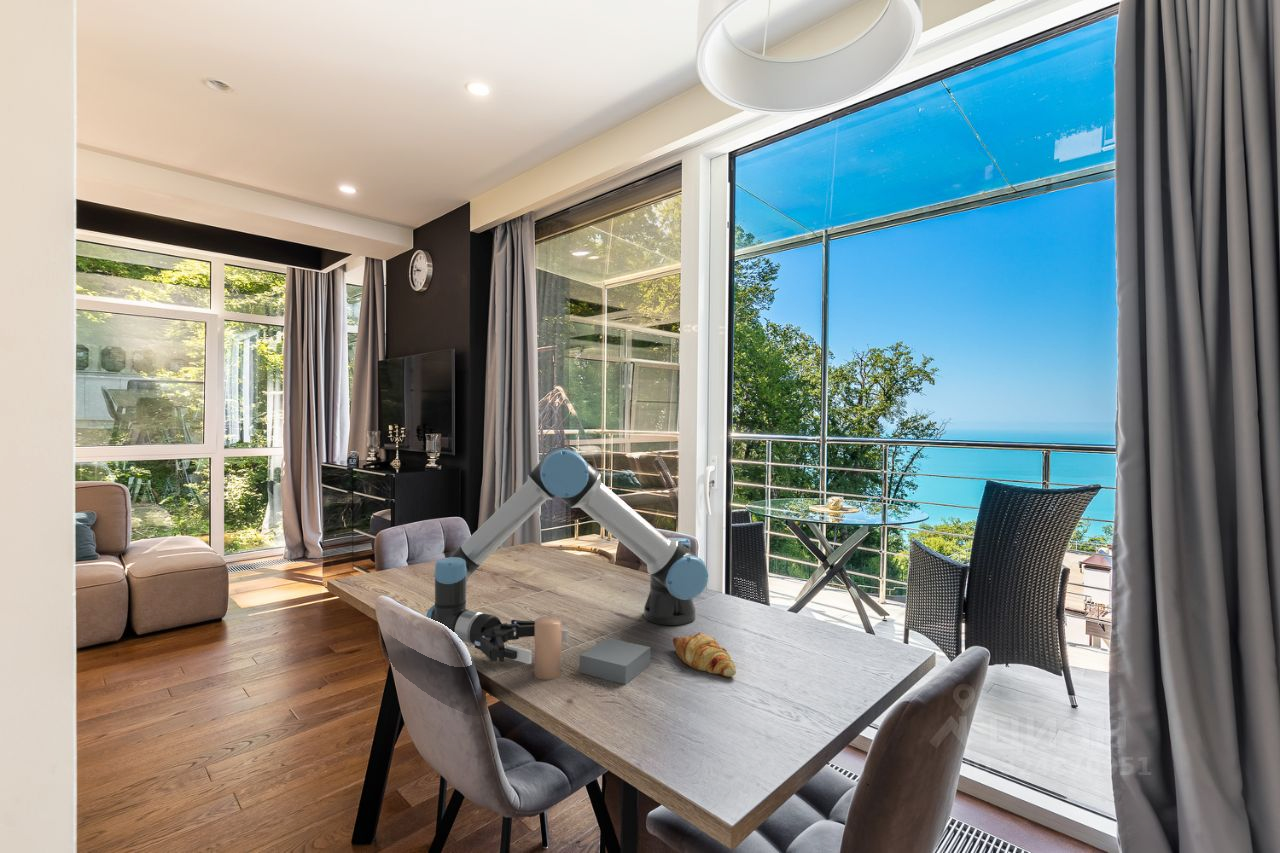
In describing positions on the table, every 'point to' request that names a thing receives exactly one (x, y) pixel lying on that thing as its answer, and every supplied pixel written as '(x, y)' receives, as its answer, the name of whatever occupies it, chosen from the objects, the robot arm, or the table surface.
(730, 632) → the table surface
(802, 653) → the table surface
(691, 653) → the croissant
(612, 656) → the pedestal
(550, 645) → the canister
